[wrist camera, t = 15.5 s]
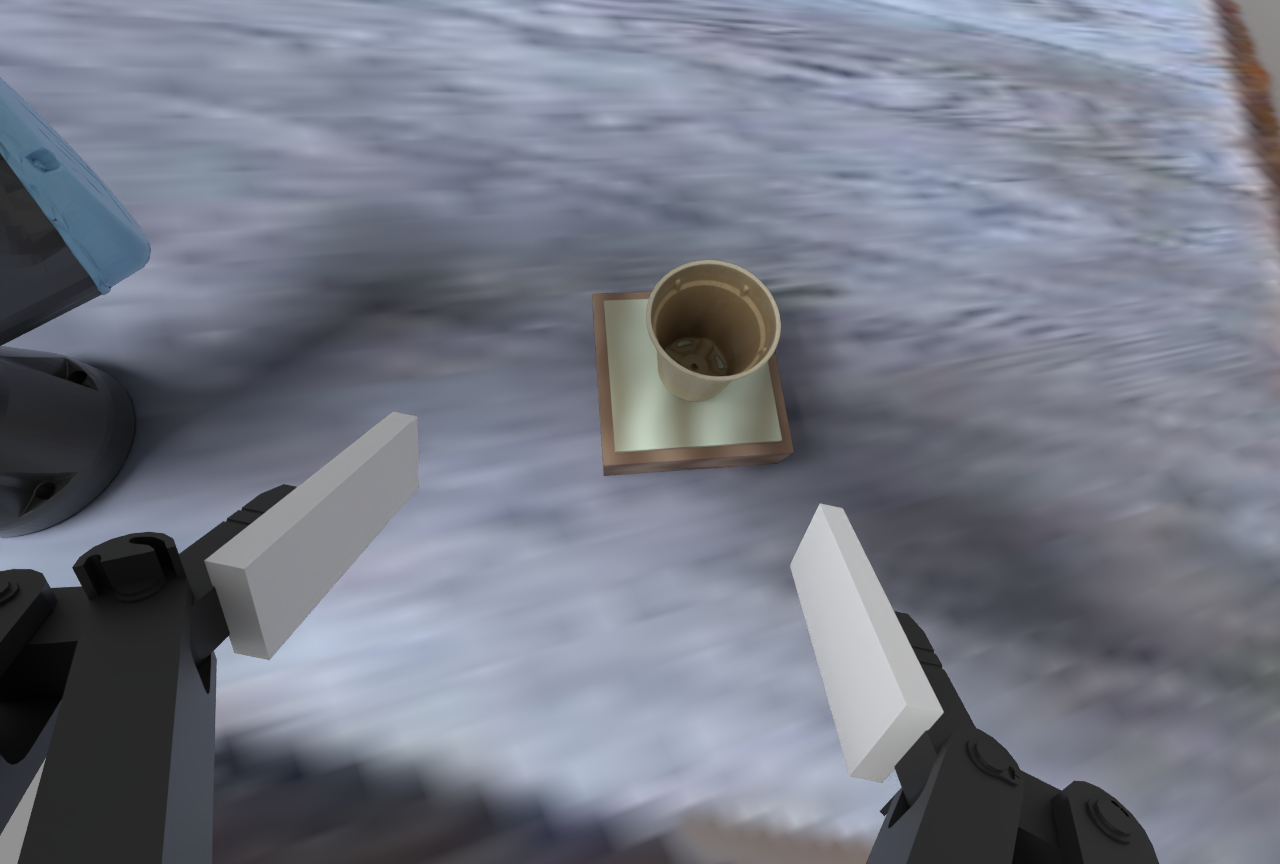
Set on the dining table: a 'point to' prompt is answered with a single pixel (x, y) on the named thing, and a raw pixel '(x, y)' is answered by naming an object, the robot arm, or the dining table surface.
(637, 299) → the brown flat square box
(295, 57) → the dining table surface
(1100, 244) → the dining table surface
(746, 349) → the flower pot
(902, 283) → the dining table surface
